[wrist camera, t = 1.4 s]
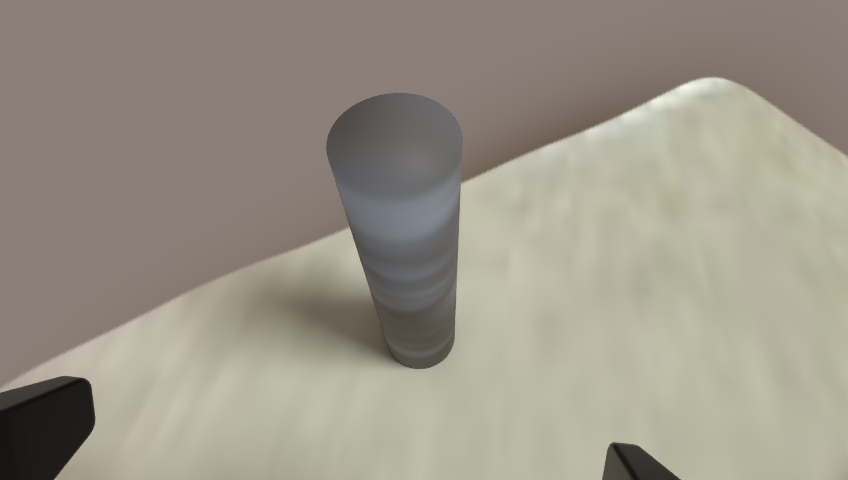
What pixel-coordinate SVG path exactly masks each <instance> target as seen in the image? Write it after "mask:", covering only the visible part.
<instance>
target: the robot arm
mask: <svg viewBox="0 0 848 480" xmlns="http://www.w3.org/2000/svg"><path fill="white" fill-rule="evenodd" d="M94 425H95V411H94V403H93V395H92V387H91V384H90V383H89V381H88V380H86V379H85V378H78V377H70V376H61V377H57V378H53V379H50V380H46V381H42V382H39V383H35V384H31V385H27V386H24V387H20V388H16V389H13V390H9V391H5V392H2V393H0V480H54V479H55V478H56V476H57V475H58V474H59V473H60V471H61V470H62V469H63V468H64V466H65V465H66V464H67V463H68V461H69V460H70V459H71V458H72V456H73V455H74V454H75V453H76V451H77V450H78V449H79V448H80V446H81V445H82V444H83V443H84V441H85V440H86V439H87V438H88V436H89V435H90V434H91V432H92V430H93V428H94ZM602 480H680V479H679V478H678V477H677V476H675V475H674V474H673V473H672V472H670V471H669V470H668V469H667V468H666V467H664V466H663V465H662V464H661V463H659V462H658V461H657V460H656V459H654V458H653V457H652V456H651V455H649V454H648V453H647V452H646V451H644V450H643V449H642V448H640V447H639V446H637V445H634V444H625V443H617V442H613V443H611V444H610V445H609V447H608V450H607V455H606V461H605V467H604V472H603V478H602Z"/></svg>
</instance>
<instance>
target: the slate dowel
mask: <svg viewBox="0 0 848 480" xmlns="http://www.w3.org/2000/svg"><path fill="white" fill-rule="evenodd" d="M326 150H327V156H328V159H329V163H330V166H331V169H332V172H333V175H334V178H335V182H336V185H337V188H338V191H339V194H340V197H341V200H342V204H343V206H344V210H345V213H346V216H347V219H348V222H349V226H350V229H351V232H352V235H353V238H354V241H355V244H356V248H357V251H358V254H359V257H360V260H361V263H362V266H363V270H364V273H365V276H366V279H367V282H368V285H369V288H370V292H371V295H372V298H373V301H374V304H375V307H376V310H377V314H378V317H379V320H380V323H381V326H382V329H383V332H384V336H385V339H386V342H387V345H388V348H389V350H390V352H391V354H392V355H393V357H394V358H395V359H396V360H397V361H399V362H400V363H401V364H403V365H405V366H407V367H410V368H415V369H424V368H429V367H432V366H435V365H437V364H438V363H440V362H441V361H443V360H444V359H445V358H446V357H447V355H448V354H449V352H450V351H451V349H452V346H453V343H454V334H455V310H456V285H457V261H458V236H459V212H460V187H461V163H462V132H461V129H460V126H459V124H458V122H457V120H456V118H455V117H454V116H453V114H452V113H451V112H450V111H449V110H448V109H446V108H445V107H444V106H442V105H441V104H439V103H438V102H436V101H434V100H431V99H429V98H426V97H423V96H420V95H415V94H407V93H392V94H384V95H379V96H375V97H372V98H369V99H366V100H363V101H361V102H359V103H357V104H356V105H354V106H352V107H351V108H349V109H348V110H347V111H345V112H344V113H343V114H342V115H341V116H340V117H339V118H338V119H337V120H336V122H335V123H334V125H333V126H332V128H331V130H330V132H329V135H328V139H327V147H326Z"/></svg>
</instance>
